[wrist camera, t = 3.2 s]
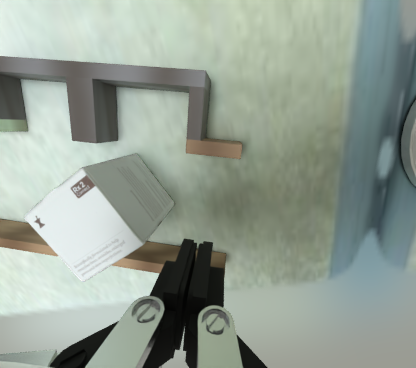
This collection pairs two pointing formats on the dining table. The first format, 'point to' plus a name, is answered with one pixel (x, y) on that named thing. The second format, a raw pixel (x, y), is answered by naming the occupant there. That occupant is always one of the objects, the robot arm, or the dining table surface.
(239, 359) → the robot arm
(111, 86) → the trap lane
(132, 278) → the dining table surface
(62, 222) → the skincare box
